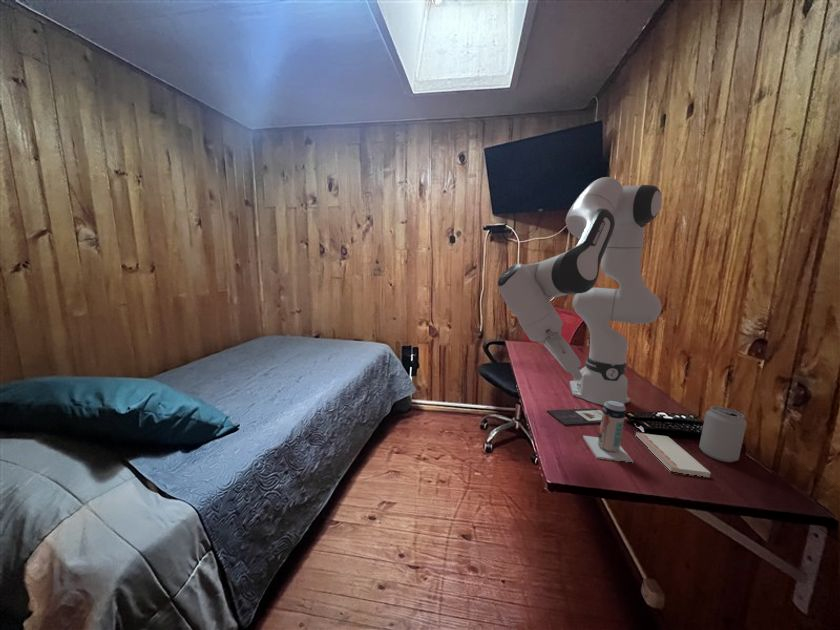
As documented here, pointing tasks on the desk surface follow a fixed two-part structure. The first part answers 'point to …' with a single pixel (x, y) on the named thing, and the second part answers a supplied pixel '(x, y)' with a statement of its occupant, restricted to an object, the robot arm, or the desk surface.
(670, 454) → the board
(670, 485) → the desk surface
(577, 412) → the chocolate bar
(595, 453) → the mat
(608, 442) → the jar with lid
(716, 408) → the can
